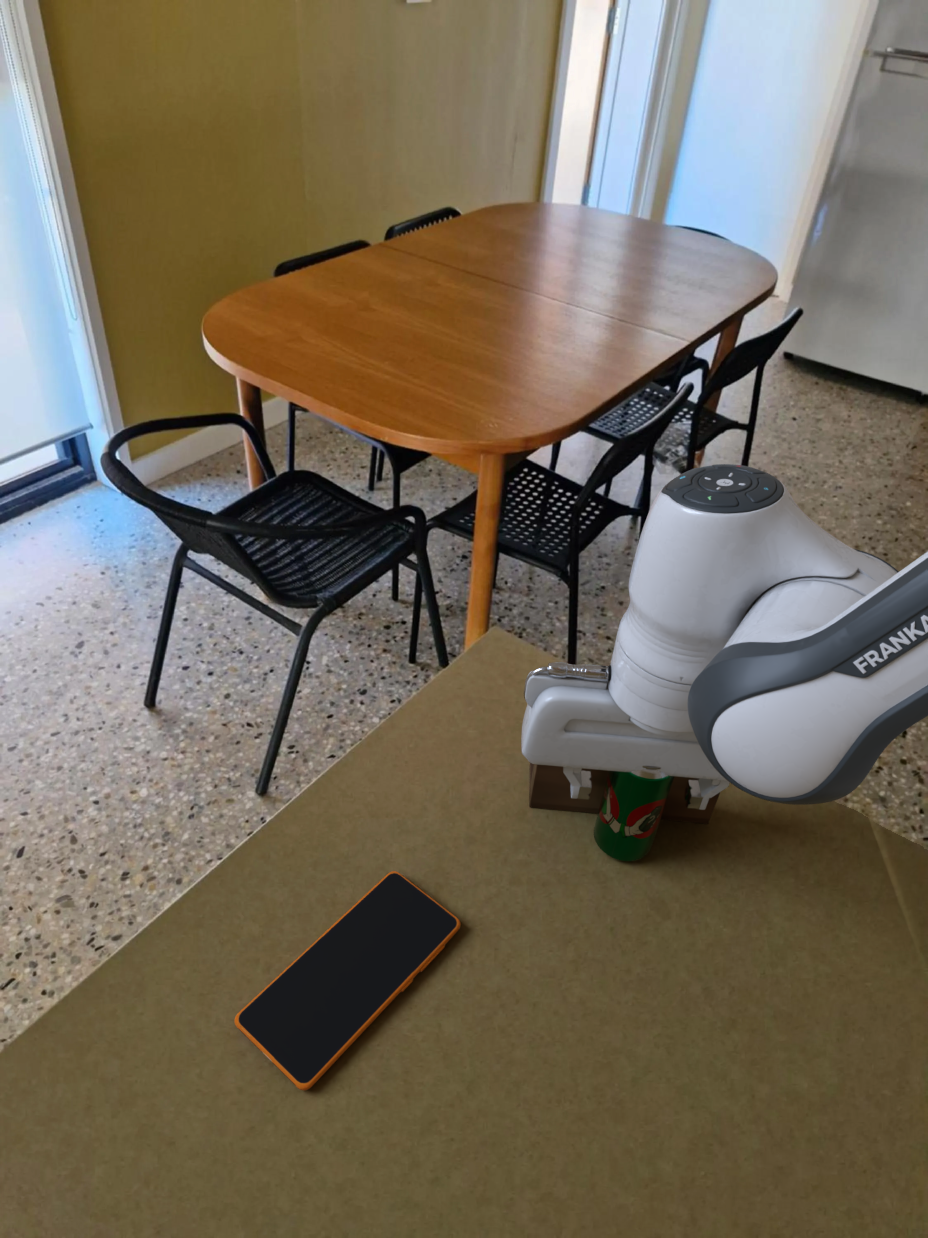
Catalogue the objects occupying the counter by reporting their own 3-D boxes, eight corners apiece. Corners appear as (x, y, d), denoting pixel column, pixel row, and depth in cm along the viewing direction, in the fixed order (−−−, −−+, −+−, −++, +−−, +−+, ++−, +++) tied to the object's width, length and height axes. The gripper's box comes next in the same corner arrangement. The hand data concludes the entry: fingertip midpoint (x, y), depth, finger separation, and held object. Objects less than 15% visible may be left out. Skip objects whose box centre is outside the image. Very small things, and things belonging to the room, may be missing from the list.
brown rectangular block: (700, 781, 83) (721, 721, 78) (708, 824, 79) (731, 764, 74) (529, 765, 83) (539, 704, 78) (529, 807, 79) (540, 746, 74)
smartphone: (231, 1024, 62) (229, 1018, 62) (393, 873, 73) (393, 867, 72) (305, 1098, 59) (304, 1092, 58) (464, 928, 69) (465, 922, 69)
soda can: (659, 834, 78) (690, 740, 70) (637, 875, 74) (668, 781, 67) (606, 808, 80) (631, 714, 72) (583, 847, 76) (606, 752, 68)
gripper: (528, 691, 62) (509, 817, 70) (821, 716, 62) (766, 840, 70) (528, 633, 67) (511, 758, 75) (800, 656, 67) (751, 779, 75)
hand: (636, 798), depth 73 cm, fingers open, 8 cm apart
